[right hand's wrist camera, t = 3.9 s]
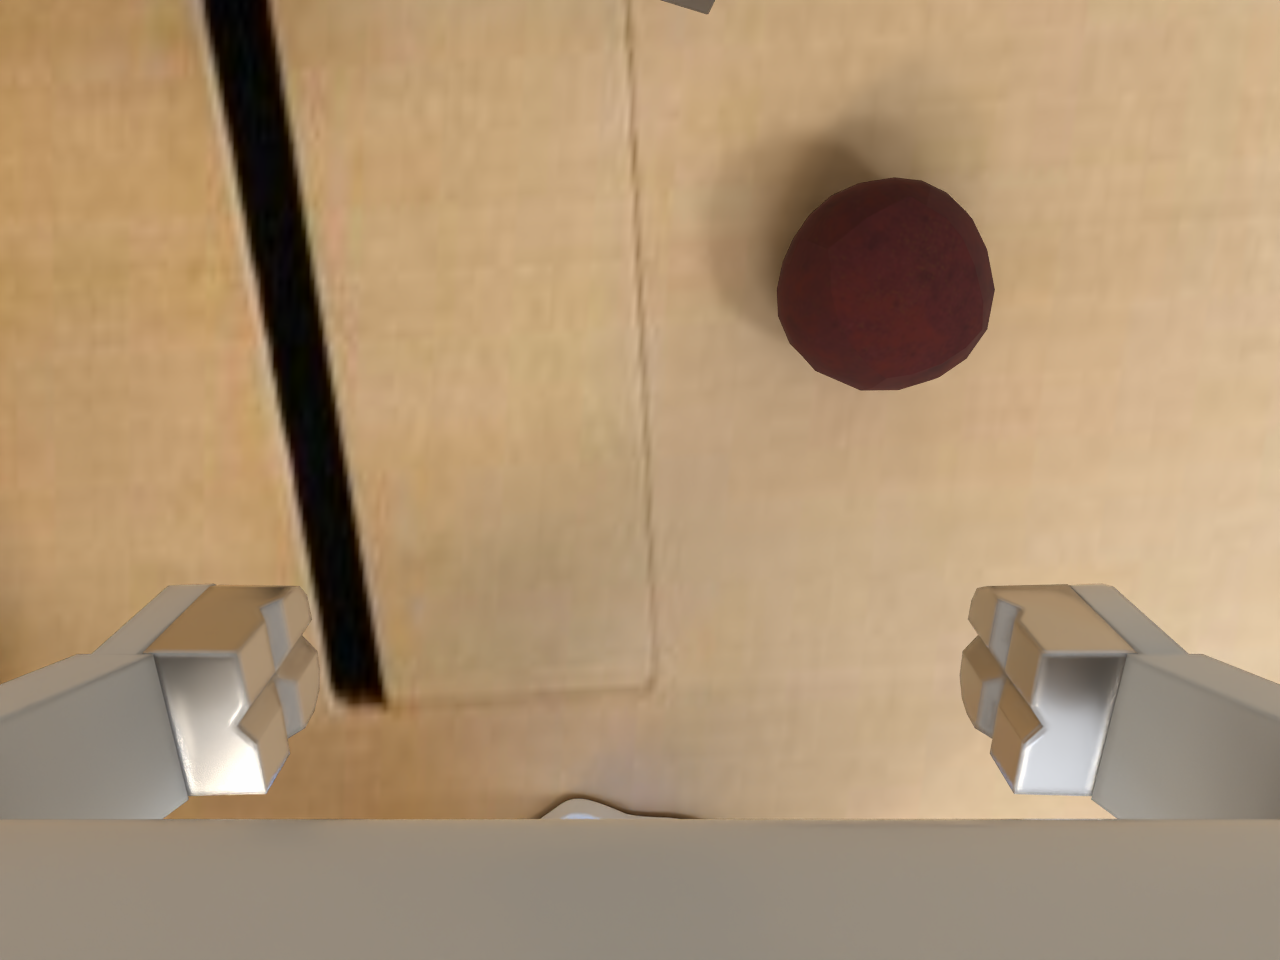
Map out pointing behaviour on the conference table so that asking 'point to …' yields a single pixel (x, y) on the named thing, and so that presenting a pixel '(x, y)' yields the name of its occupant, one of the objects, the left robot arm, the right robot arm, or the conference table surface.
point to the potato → (886, 285)
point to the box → (694, 4)
